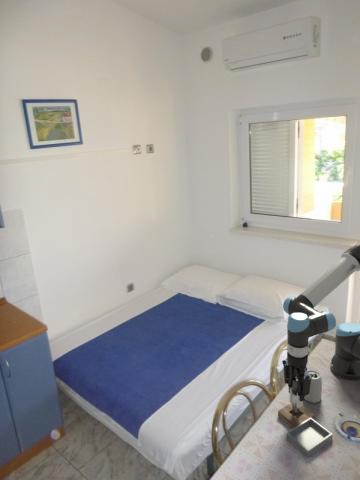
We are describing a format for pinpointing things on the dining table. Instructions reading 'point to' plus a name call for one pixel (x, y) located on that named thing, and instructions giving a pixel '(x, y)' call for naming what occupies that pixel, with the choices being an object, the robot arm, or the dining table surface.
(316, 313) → the robot arm
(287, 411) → the plate
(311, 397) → the can
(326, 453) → the dining table surface
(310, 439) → the tray
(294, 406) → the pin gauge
